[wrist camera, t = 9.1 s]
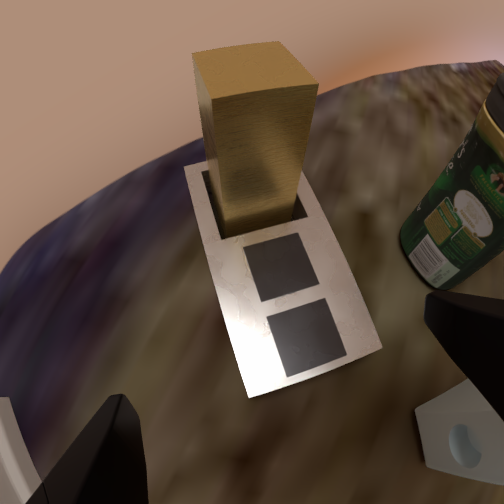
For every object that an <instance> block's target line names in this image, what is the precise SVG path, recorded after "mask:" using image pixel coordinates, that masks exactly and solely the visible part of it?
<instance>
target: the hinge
mask: <svg viewBox="0 0 504 504" xmlns="http://www.w3.org/2000/svg"><path fill="white" fill-rule="evenodd" d="M41 483H42V481H41V479H40V477H39V475H38V473H37V471H36V469H35V467H34V464H33V462H32V460H31V458H30V455H29V453H28V450H27V448H26V446H25V443H24V440H23V438H22V435H21V432H20V430H19V427H18V424H17V421H16V418H15V415H14V412H13V409H12V406H11V402H10V399H9V397H0V504H25V503H26V502H27V500H28V499H29V498H30V497H31V495H32V494H33V493H34V492H35V490H36V489H37V488H38V487H39V485H40V484H41Z"/></svg>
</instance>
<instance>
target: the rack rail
mask: <svg viewBox="0 0 504 504" xmlns="http://www.w3.org/2000/svg"><path fill="white" fill-rule="evenodd" d="M184 169H185V174H186V178H187V182H188V186H189V190H190V194H191V198H192V202H193V206H194V210H195V214H196V218H197V222H198V226H199V230H200V233H201V237H202V241H203V245H204V249H205V252H206V256H207V260H208V263H209V267H210V271H211V274H212V278H213V281H214V285H215V288H216V292H217V295H218V299H219V302H220V306H221V309H222V313H223V316H224V319H225V323H226V326H227V330H228V333H229V336H230V339H231V343H232V346H233V349H234V352H235V356H236V359H237V362H238V365H239V368H240V372H241V375H242V378H243V381H244V384H245V387H246V390H247V393H248V396H249V398H251V397H254V396H258V395H261V394H264V393H267V392H270V391H274V390H277V389H280V388H283V387H286V386H289V385H292V384H295V383H297V382H300V381H303V380H306V379H309V378H311V377H314V376H317V375H319V374H322V373H325V372H327V371H330V370H332V369H335V368H337V367H340V366H342V365H345V364H347V363H349V362H352V361H354V360H356V359H359V358H361V357H363V356H366V355H368V354H370V353H372V352H375V351H377V350H379V349H381V348H383V347H382V345H381V342H380V340H379V337H378V334H377V332H376V329H375V327H374V324H373V322H372V319H371V317H370V314H369V312H368V310H367V307H366V305H365V302H364V300H363V298H362V295H361V293H360V290H359V288H358V286H357V284H356V281H355V279H354V277H353V274H352V272H351V270H350V268H349V265H348V263H347V261H346V259H345V257H344V254H343V252H342V250H341V248H340V246H339V244H338V242H337V239H336V237H335V235H334V233H333V231H332V229H331V227H330V225H329V223H328V221H327V219H326V217H325V215H324V212H323V210H322V208H321V206H320V204H319V202H318V201H317V199H316V197H315V195H314V193H313V191H312V189H311V187H310V185H309V183H308V181H307V179H306V177H305V175H304V173H303V172H302V171H301V175H300V180H299V185H298V189H297V194H296V198H295V203H294V207H293V212H292V215H293V217H294V219H295V221H291V222H287V223H284V224H280V225H276V226H272V227H268V228H265V229H261V230H257V231H253V232H250V233H246V234H242V235H238V236H235V237H231V238H227V239H224V240H221V238H220V235H219V231H218V228H217V225H216V221H215V218H214V214H213V211H212V208H211V204H210V201H209V197H208V194H207V193H210V192H212V191H211V184H210V178H209V172H208V165H207V161H205V162H201V163H197V164H193V165H189V166H185V167H184Z"/></svg>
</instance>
